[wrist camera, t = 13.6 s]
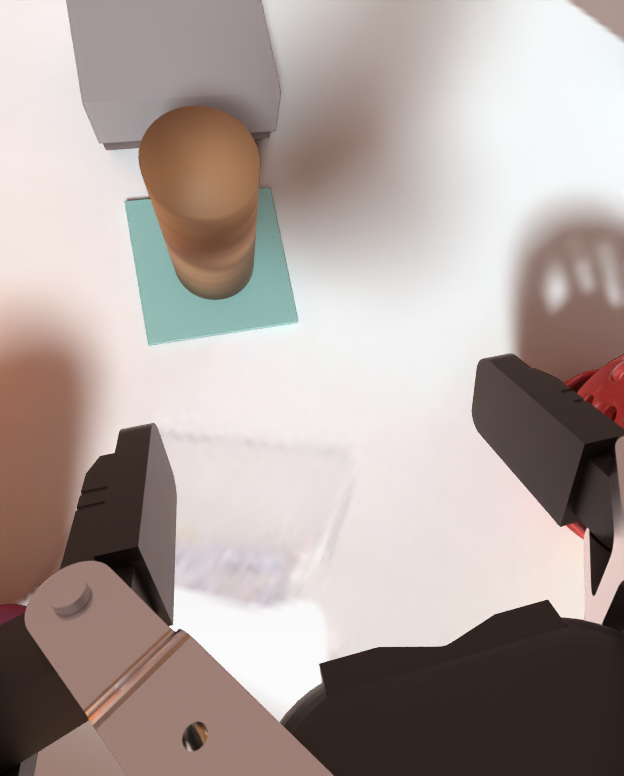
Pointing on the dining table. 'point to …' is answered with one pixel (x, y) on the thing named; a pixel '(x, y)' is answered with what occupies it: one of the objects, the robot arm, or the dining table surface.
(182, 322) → the teal pad
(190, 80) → the grey roller platform
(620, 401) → the plant pot
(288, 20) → the dining table surface
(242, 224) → the roller
